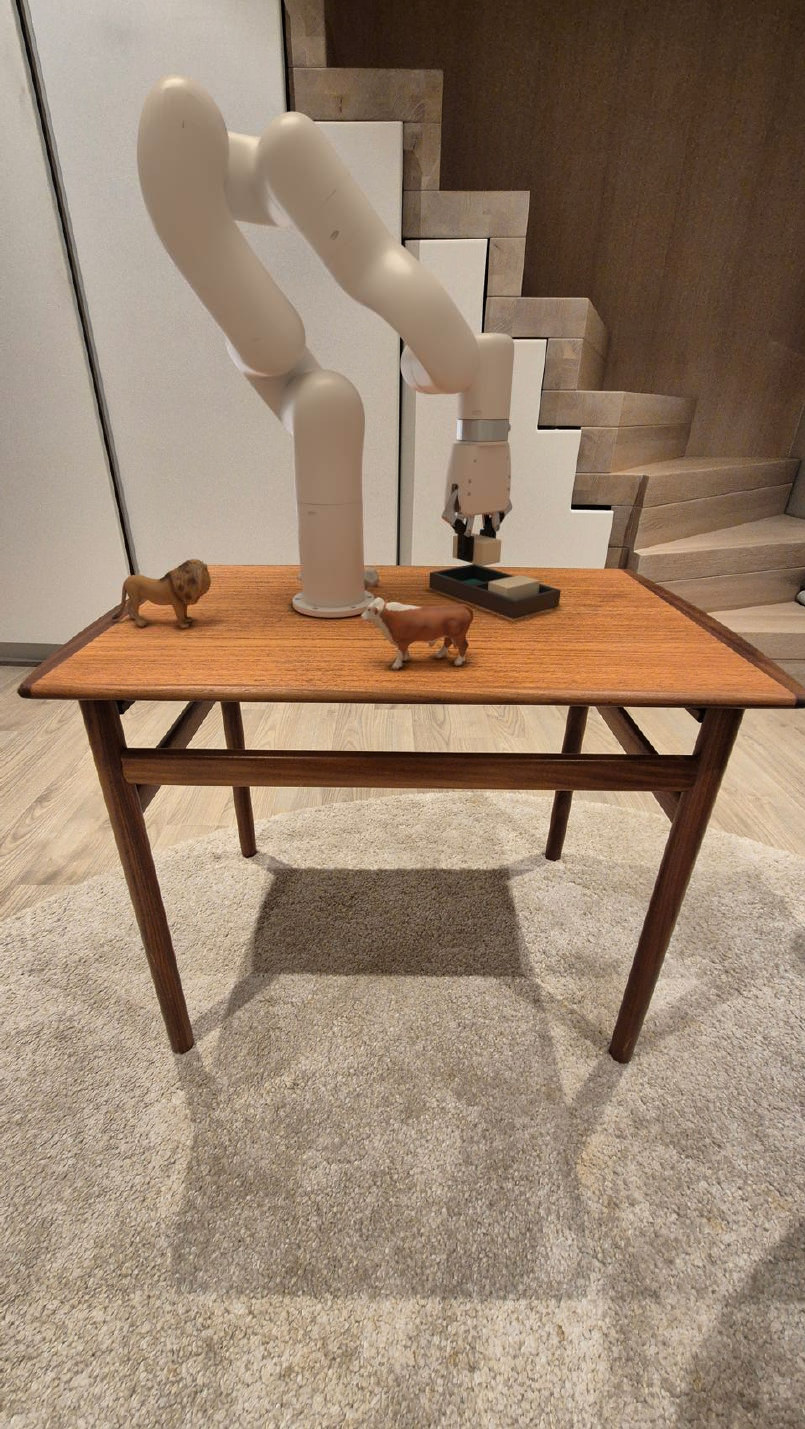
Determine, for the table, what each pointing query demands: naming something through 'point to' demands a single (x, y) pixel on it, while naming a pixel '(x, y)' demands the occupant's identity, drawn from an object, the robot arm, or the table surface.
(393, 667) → the bull figurine
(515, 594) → the beige block
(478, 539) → the tan rectangular block
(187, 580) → the lion figurine
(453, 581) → the dark shallow tray
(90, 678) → the table surface
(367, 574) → the grey round piece
